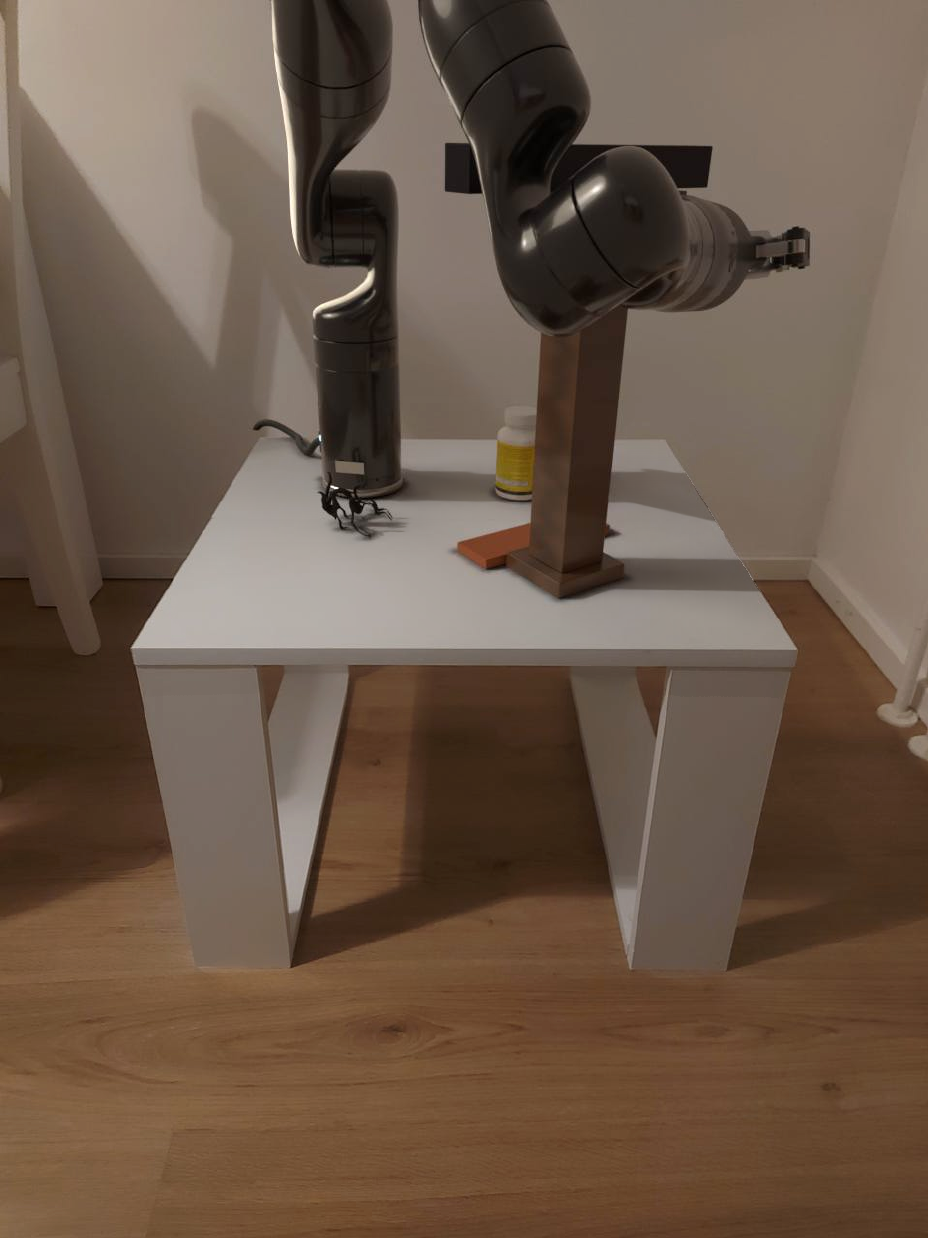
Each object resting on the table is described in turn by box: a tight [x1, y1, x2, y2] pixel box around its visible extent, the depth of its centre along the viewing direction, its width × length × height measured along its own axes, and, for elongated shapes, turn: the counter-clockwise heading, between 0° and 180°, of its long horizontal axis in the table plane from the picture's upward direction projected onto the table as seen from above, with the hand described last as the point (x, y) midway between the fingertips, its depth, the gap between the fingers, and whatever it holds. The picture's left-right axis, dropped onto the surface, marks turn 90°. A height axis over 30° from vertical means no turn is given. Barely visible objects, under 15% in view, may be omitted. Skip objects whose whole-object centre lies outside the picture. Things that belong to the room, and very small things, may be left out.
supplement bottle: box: [494, 405, 537, 501], centre depth 99 cm, size 5×5×10 cm
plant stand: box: [505, 189, 688, 599], centre depth 75 cm, size 10×10×33 cm
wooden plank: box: [456, 522, 611, 570], centre depth 89 cm, size 5×16×1 cm, turn 124°
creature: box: [317, 472, 393, 537], centre depth 92 cm, size 8×5×8 cm
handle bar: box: [444, 142, 714, 195], centre depth 65 cm, size 3×24×3 cm
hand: (742, 262), depth 75 cm, fingers open, 6 cm apart
